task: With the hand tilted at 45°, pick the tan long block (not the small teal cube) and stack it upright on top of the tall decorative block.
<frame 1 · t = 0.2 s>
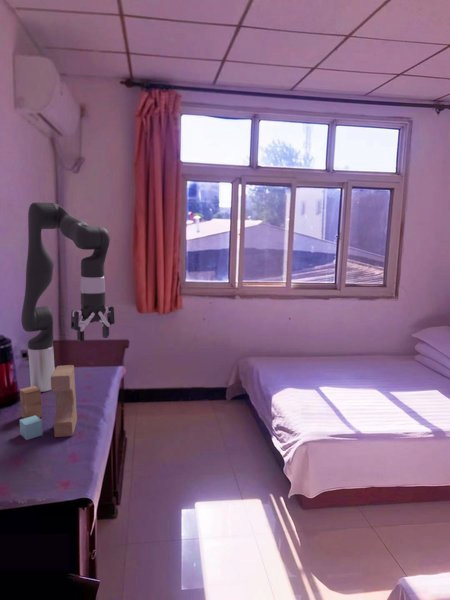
hand: (93, 339, 143), 29 cm above the table, tool pointing down, fingers open, 8 cm apart
decorative block: (66, 430, 144), on the table
teal cube: (31, 434, 140), on the table
tan long block: (32, 416, 153), on the table
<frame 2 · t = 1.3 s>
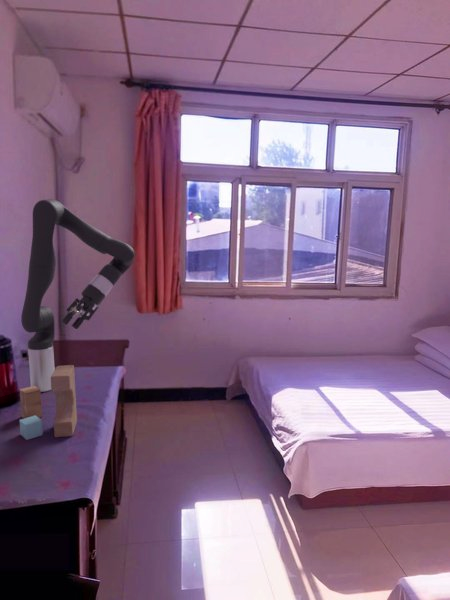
hand: (68, 325, 156), 31 cm above the table, tool tilted 45°, fingers open, 8 cm apart
nothing on the table moved.
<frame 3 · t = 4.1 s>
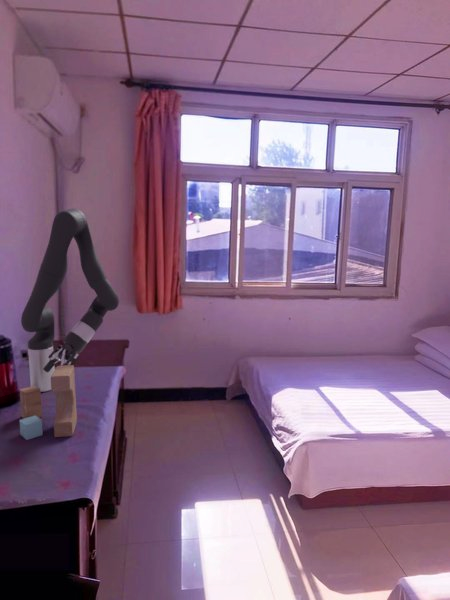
hand: (50, 374, 155), 14 cm above the table, tool tilted 45°, fingers open, 8 cm apart
nothing on the table moved.
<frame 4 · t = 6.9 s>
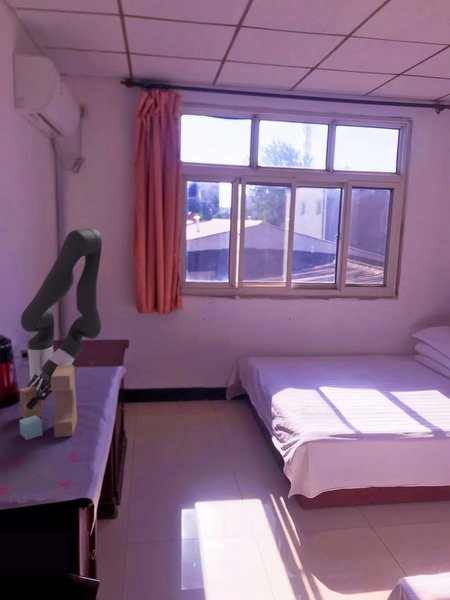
hand: (25, 405, 151), 5 cm above the table, tool tilted 45°, fingers closed on tan long block, 5 cm apart
tan long block: (31, 416, 153), on the table, touching gripper
everything else where it was.
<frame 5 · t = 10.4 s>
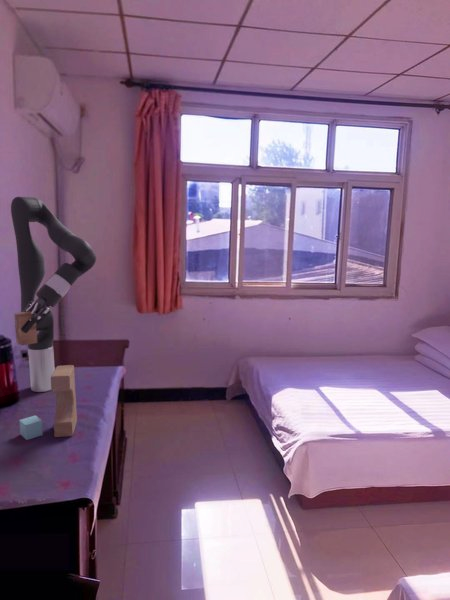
hand: (20, 329, 146), 31 cm above the table, tool tilted 45°, fingers closed on tan long block, 5 cm apart
tan long block: (26, 342, 148), point 26 cm above the table, touching gripper
everything else where it was.
when the fingers open (27 cm above the table, at t = 13.9 s): tan long block drops 2 cm, resting on decorative block.
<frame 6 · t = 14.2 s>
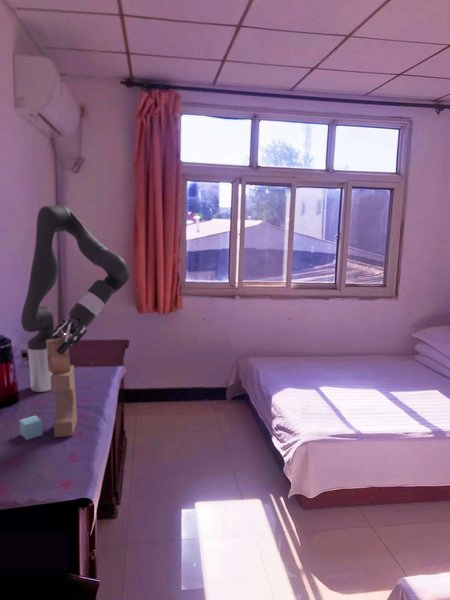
hand: (53, 350, 137), 27 cm above the table, tool tilted 45°, fingers open, 7 cm apart
decorative block: (66, 430, 144), on the table, touching tan long block
tan long block: (59, 370, 140), point 20 cm above the table, touching decorative block
everything else where it was.
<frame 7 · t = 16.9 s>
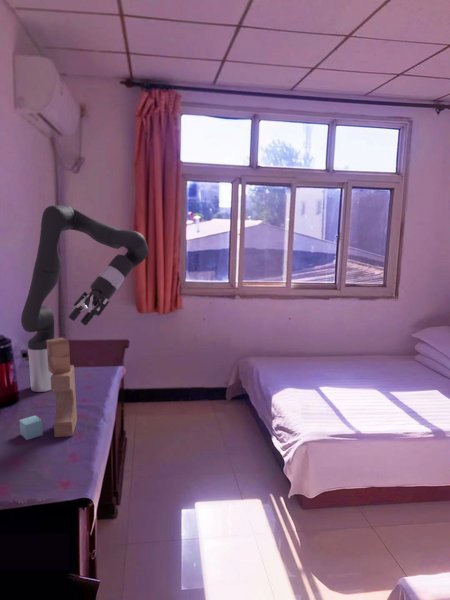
hand: (76, 321, 141), 35 cm above the table, tool tilted 45°, fingers open, 8 cm apart
nothing on the table moved.
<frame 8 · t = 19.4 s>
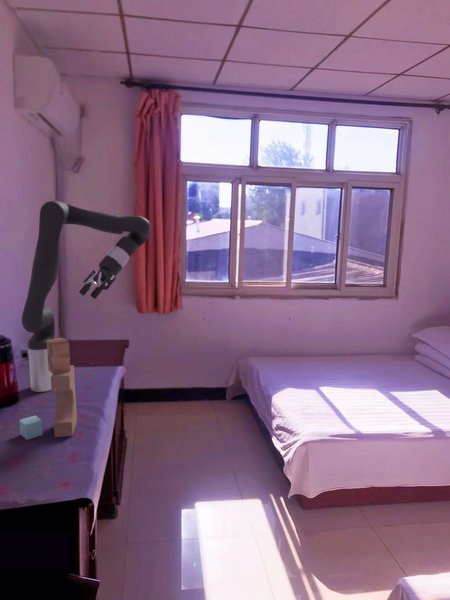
hand: (86, 295, 157), 41 cm above the table, tool tilted 45°, fingers open, 8 cm apart
nothing on the table moved.
at the end: tan long block inside the target area on the decorative block (0.9 cm from its centre), point 20.2 cm above the decorative block's base; tan long block tilted 0°; decorative block tilted 0° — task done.
